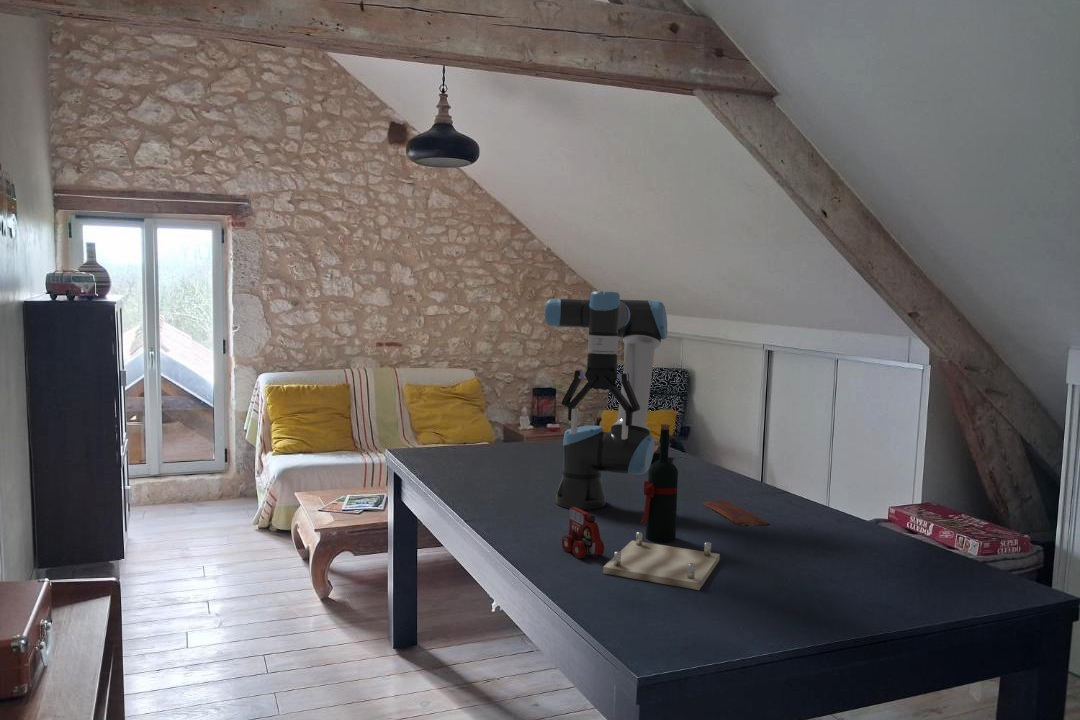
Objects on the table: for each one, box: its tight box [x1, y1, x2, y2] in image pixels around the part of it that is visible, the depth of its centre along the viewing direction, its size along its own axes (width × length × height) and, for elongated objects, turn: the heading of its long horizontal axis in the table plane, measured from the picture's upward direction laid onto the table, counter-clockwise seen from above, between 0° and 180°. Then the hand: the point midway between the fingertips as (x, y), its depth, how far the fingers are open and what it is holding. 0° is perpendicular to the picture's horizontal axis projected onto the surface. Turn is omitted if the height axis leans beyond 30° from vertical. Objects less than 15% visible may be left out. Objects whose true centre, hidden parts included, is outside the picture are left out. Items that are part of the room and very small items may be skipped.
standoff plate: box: [602, 531, 721, 591], centre depth 190 cm, size 22×22×4 cm
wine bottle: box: [640, 423, 679, 544], centre depth 210 cm, size 8×10×30 cm
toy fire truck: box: [561, 507, 605, 560], centre depth 197 cm, size 7×12×10 cm, turn 29°
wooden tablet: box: [702, 499, 770, 527], centre depth 238 cm, size 27×10×2 cm, turn 14°
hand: (598, 436), depth 206 cm, fingers open, 13 cm apart
